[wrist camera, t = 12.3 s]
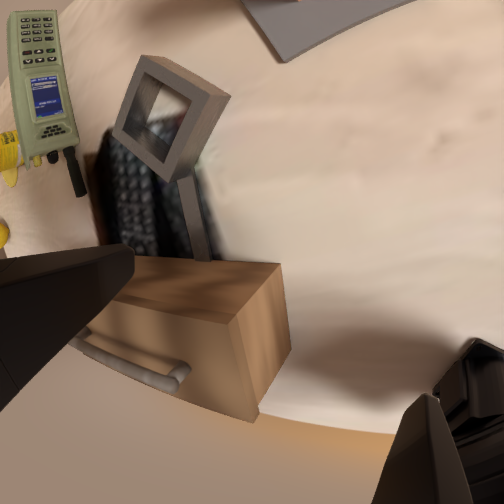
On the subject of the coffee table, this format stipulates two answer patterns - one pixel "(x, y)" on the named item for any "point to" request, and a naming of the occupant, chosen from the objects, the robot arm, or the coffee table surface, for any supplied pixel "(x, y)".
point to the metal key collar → (186, 141)
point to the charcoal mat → (312, 20)
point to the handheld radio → (41, 91)
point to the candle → (10, 176)
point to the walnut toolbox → (196, 331)
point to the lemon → (3, 235)
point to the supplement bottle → (10, 151)
